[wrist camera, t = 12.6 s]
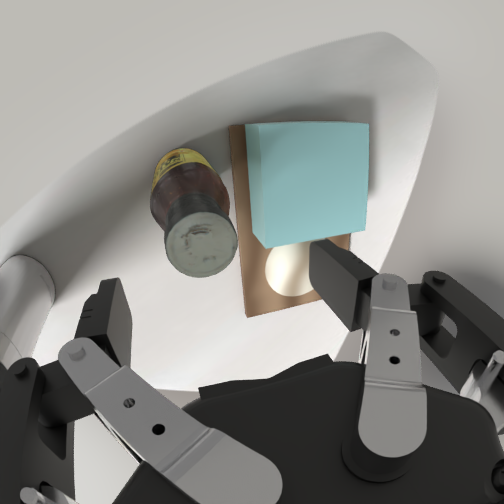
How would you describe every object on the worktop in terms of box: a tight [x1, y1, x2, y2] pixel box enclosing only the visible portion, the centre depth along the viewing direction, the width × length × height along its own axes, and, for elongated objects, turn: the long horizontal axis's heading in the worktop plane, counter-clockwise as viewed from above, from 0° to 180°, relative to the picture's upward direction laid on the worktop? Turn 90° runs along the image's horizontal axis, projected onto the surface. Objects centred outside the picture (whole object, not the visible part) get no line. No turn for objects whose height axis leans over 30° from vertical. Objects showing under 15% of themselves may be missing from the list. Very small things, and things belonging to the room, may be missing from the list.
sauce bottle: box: [150, 148, 238, 278], centre depth 25 cm, size 7×6×20 cm
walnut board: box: [229, 125, 350, 318], centre depth 39 cm, size 16×26×1 cm, turn 4°
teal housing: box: [245, 121, 369, 249], centre depth 34 cm, size 13×13×5 cm
